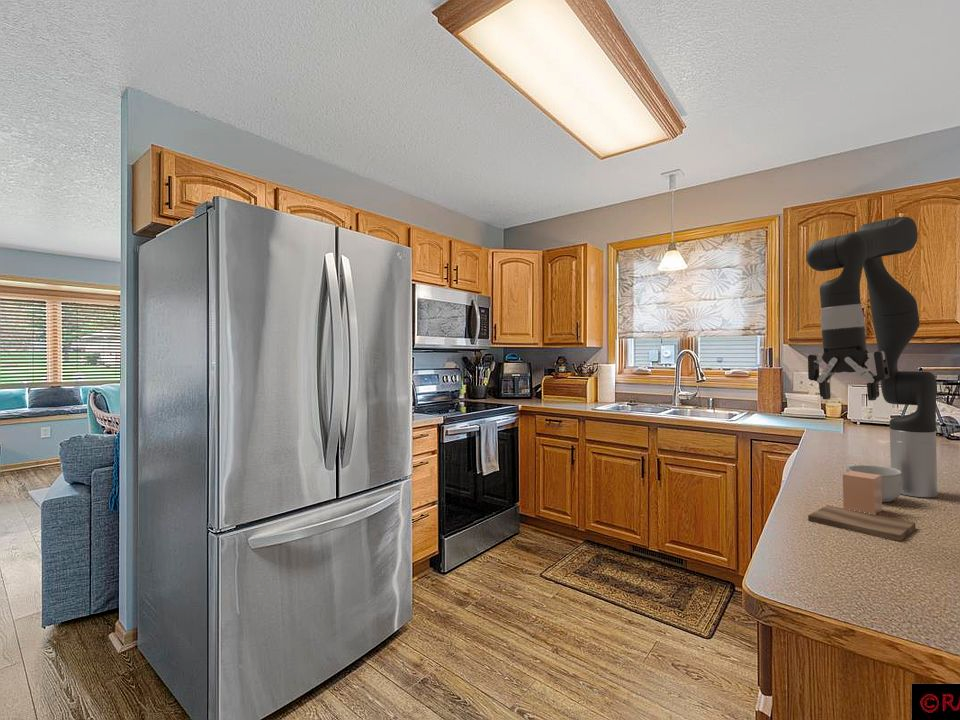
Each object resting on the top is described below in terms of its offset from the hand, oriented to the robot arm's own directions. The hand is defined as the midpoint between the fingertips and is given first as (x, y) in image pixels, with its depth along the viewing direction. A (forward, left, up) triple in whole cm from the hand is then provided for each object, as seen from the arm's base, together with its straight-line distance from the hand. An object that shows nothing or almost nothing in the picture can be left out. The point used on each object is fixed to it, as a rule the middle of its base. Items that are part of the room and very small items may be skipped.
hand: (848, 399), depth 102 cm
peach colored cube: (-16, -2, -28) cm, 33 cm away
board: (-3, +1, -28) cm, 28 cm away
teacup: (-30, -4, -28) cm, 42 cm away
